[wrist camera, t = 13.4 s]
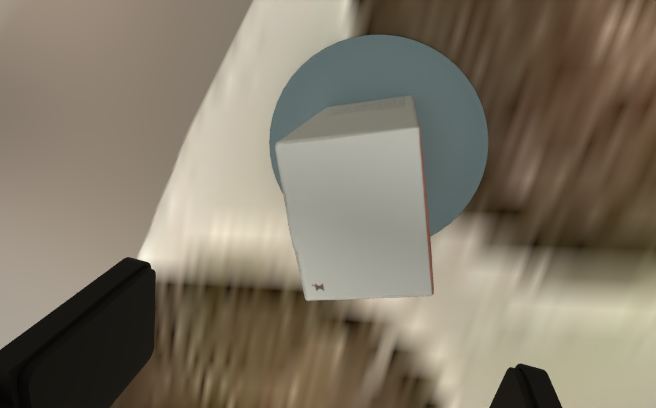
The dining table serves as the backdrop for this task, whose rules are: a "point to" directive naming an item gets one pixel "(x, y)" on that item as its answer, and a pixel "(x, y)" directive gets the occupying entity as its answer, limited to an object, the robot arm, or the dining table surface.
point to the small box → (358, 201)
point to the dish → (395, 81)
